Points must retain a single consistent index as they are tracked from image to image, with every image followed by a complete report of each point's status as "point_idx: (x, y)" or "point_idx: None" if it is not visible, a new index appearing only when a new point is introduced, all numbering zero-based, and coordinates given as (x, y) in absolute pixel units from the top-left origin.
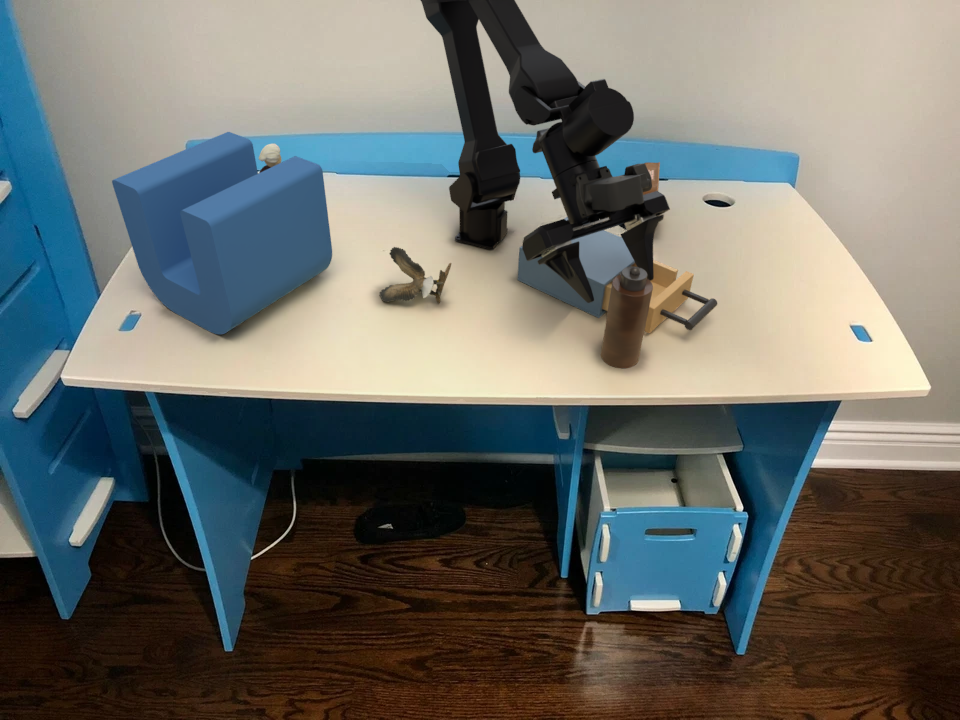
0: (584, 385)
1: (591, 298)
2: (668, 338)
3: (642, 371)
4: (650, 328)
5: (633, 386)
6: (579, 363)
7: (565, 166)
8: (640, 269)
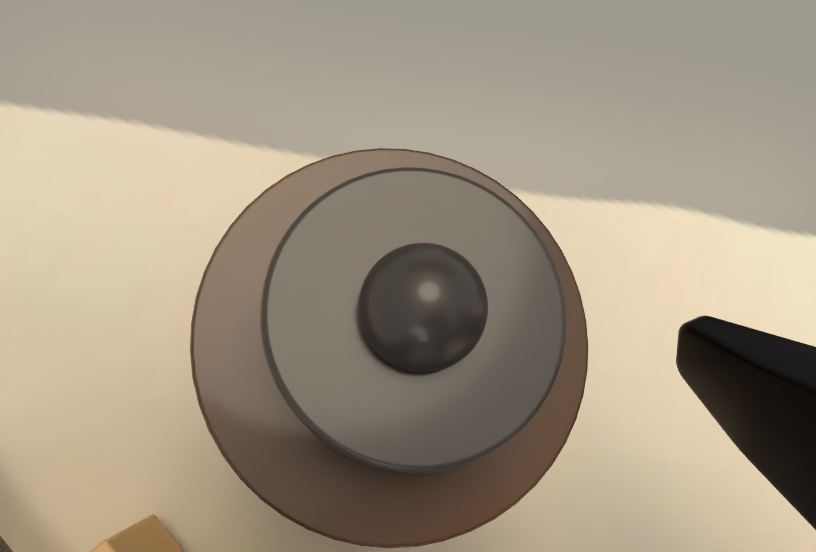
0: None
1: (715, 321)
2: (53, 498)
3: None
4: (143, 519)
5: None
6: None
7: None
8: (321, 376)
